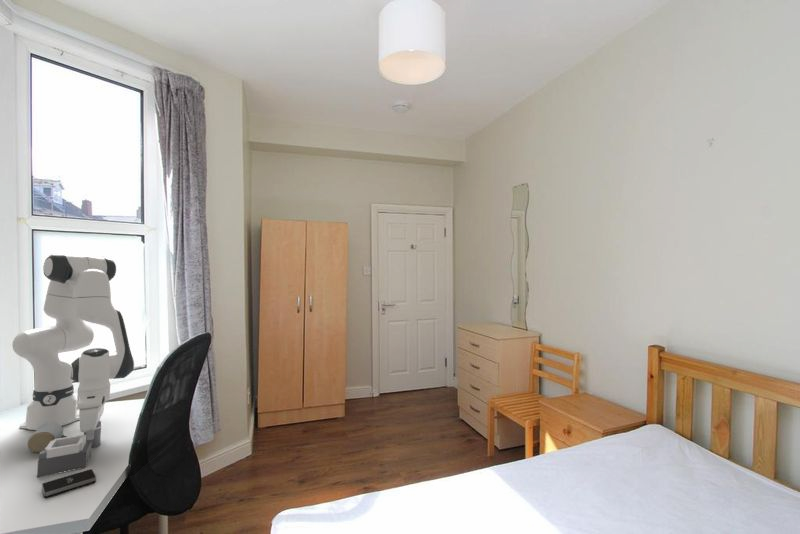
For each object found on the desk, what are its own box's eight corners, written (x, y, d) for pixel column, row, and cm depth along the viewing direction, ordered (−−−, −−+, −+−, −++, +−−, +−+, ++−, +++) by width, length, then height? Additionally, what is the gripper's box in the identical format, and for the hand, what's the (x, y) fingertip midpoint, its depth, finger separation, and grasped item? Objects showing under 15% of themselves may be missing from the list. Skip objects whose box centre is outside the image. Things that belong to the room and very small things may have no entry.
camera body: (46, 464, 116) (47, 440, 116) (90, 455, 122) (91, 432, 122) (37, 477, 108) (38, 451, 108) (85, 467, 114) (86, 443, 114)
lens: (84, 445, 129) (85, 421, 129) (101, 442, 132) (102, 419, 132) (81, 450, 125) (82, 426, 125) (99, 447, 128) (100, 423, 128)
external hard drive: (96, 484, 106) (96, 477, 106) (43, 501, 98) (43, 493, 98) (91, 475, 111) (92, 468, 111) (40, 490, 102) (41, 483, 102)
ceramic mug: (24, 456, 121) (26, 432, 121) (34, 446, 128) (35, 423, 128) (67, 449, 126) (68, 427, 126) (73, 440, 133) (75, 419, 133)
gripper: (88, 389, 136) (86, 426, 136) (75, 406, 119) (74, 449, 118) (109, 386, 139) (108, 423, 139) (100, 402, 122) (99, 444, 122)
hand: (92, 435), depth 129 cm, fingers open, 5 cm apart
